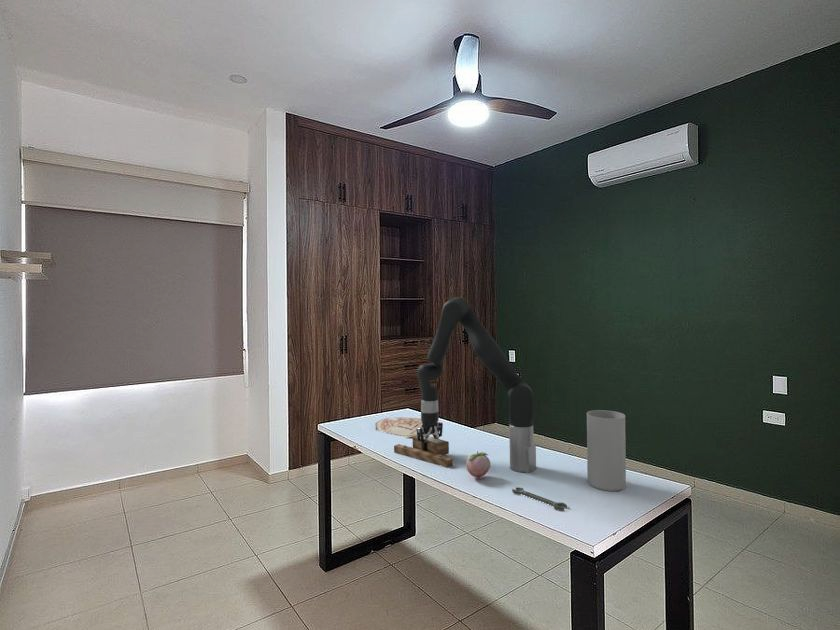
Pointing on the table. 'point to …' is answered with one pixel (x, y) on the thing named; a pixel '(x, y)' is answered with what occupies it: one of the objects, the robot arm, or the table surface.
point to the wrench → (540, 499)
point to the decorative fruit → (478, 464)
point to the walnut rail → (423, 455)
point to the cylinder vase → (606, 450)
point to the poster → (399, 426)
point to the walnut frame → (433, 445)
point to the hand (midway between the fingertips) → (430, 448)
